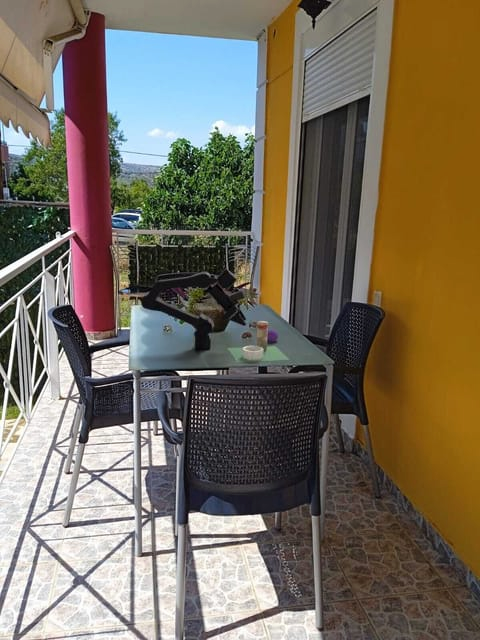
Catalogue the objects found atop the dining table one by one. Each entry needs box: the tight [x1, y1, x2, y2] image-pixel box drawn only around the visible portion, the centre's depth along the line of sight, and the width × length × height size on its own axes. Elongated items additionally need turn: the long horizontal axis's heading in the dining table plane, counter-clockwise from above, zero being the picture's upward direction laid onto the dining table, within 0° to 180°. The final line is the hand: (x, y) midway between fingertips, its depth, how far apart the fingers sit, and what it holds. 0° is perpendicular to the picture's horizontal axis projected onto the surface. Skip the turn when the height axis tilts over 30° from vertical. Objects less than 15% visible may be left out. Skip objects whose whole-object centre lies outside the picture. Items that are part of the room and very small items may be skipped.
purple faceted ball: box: [267, 329, 279, 343], centre depth 223 cm, size 6×6×20 cm
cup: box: [242, 345, 264, 360], centre depth 192 cm, size 8×8×4 cm
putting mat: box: [227, 345, 291, 363], centre depth 196 cm, size 22×19×1 cm
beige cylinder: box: [256, 320, 269, 352], centre depth 200 cm, size 4×4×12 cm
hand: (245, 322), depth 198 cm, fingers open, 9 cm apart
